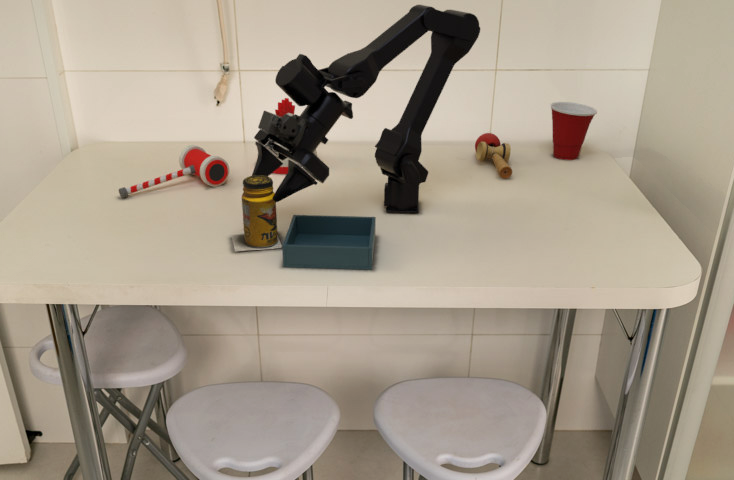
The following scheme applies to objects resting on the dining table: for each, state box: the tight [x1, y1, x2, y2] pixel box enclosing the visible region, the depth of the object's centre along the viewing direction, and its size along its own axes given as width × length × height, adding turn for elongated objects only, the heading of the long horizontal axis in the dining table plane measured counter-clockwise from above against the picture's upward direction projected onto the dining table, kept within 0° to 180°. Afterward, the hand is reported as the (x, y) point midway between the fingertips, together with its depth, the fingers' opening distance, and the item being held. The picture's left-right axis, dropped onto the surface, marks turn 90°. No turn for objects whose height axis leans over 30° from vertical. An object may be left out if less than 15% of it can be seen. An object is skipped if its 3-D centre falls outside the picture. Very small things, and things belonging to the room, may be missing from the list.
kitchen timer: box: [257, 97, 318, 175], centre depth 178 cm, size 14×14×15 cm
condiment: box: [230, 175, 283, 252], centre depth 140 cm, size 7×8×12 cm
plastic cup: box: [550, 101, 598, 161], centre depth 185 cm, size 11×11×12 cm
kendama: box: [474, 132, 513, 180], centre depth 180 cm, size 8×6×18 cm
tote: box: [281, 214, 377, 271], centre depth 138 cm, size 15×14×4 cm
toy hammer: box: [118, 144, 230, 199], centre depth 167 cm, size 23×12×6 cm, turn 127°
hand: (262, 192), depth 139 cm, fingers open, 9 cm apart
